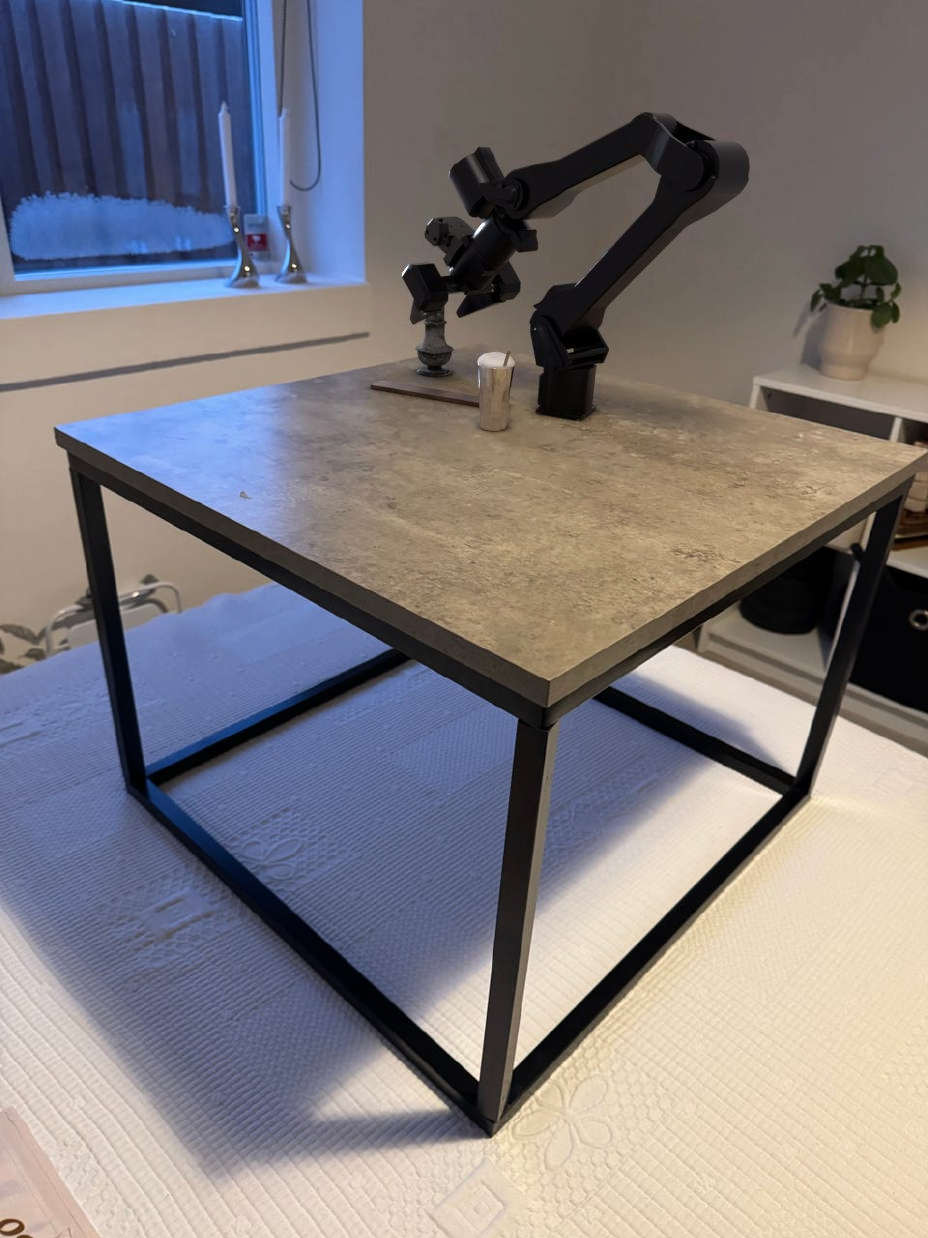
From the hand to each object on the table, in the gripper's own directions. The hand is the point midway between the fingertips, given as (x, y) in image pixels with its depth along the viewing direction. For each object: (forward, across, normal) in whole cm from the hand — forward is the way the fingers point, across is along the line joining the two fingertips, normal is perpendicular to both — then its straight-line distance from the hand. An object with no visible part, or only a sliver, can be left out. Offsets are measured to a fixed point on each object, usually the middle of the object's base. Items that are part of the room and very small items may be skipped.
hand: (435, 318), depth 127 cm
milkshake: (-13, +13, +24) cm, 30 cm away
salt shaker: (+6, 0, +6) cm, 8 cm away
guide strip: (-2, +9, +13) cm, 16 cm away
